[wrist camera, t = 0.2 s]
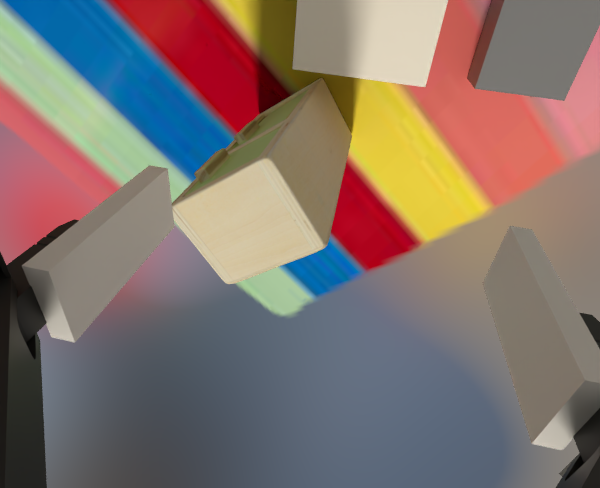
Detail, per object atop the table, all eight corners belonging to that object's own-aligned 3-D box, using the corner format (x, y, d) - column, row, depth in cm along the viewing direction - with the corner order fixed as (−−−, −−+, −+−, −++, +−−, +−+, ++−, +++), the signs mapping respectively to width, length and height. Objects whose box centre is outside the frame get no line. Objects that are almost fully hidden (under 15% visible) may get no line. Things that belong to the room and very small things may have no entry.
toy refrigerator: (320, 67, 37) (261, 144, 20) (354, 134, 40) (329, 251, 23) (253, 107, 40) (155, 202, 23) (290, 166, 43) (226, 289, 26)
